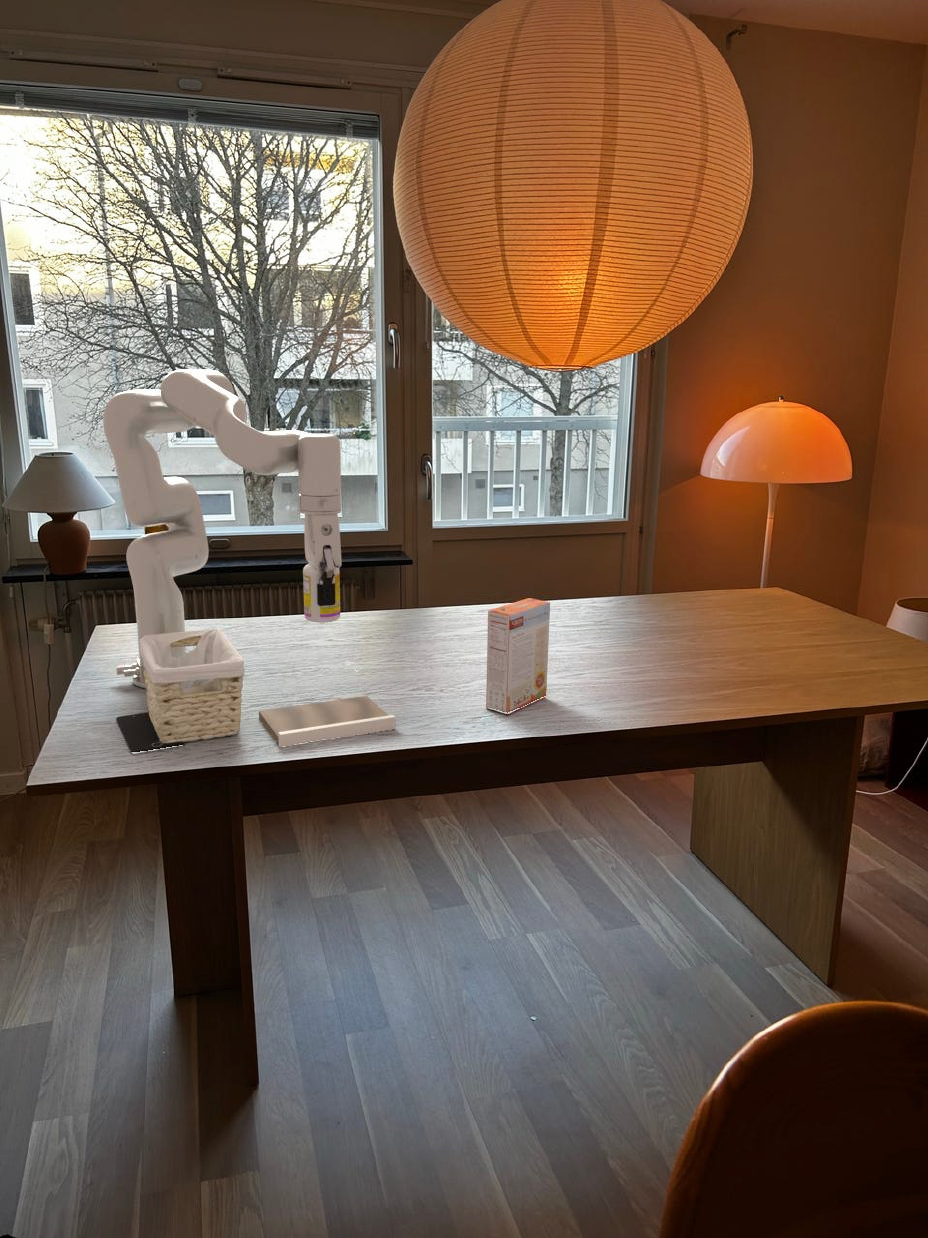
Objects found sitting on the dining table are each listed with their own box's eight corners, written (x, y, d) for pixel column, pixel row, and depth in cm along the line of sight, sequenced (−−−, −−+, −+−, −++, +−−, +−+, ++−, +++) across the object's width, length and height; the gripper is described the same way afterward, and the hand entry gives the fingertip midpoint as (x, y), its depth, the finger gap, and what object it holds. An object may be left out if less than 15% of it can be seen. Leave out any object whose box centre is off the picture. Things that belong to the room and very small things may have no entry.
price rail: (280, 747, 159) (280, 734, 158) (278, 745, 160) (278, 732, 159) (395, 729, 168) (395, 717, 168) (392, 727, 169) (393, 714, 169)
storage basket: (142, 704, 177) (136, 633, 173) (225, 694, 184) (222, 625, 180) (156, 751, 156) (150, 671, 152) (249, 737, 163) (246, 660, 159)
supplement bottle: (346, 616, 169) (345, 549, 165) (331, 625, 162) (330, 555, 159) (313, 612, 170) (312, 546, 167) (297, 621, 164) (296, 552, 161)
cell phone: (132, 756, 154) (131, 751, 154) (116, 721, 169) (115, 716, 169) (184, 748, 159) (184, 743, 158) (164, 714, 174) (164, 709, 173)
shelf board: (278, 745, 160) (278, 737, 159) (259, 718, 172) (258, 711, 171) (392, 727, 169) (393, 719, 169) (366, 702, 181) (366, 695, 181)
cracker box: (523, 691, 191) (528, 596, 185) (547, 698, 187) (552, 601, 181) (483, 709, 180) (486, 608, 174) (507, 716, 176) (511, 614, 171)
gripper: (352, 510, 154) (353, 610, 159) (329, 497, 170) (331, 588, 175) (309, 511, 152) (311, 613, 156) (290, 498, 167) (292, 591, 172)
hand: (321, 599), depth 165 cm, fingers closed on supplement bottle, 6 cm apart
